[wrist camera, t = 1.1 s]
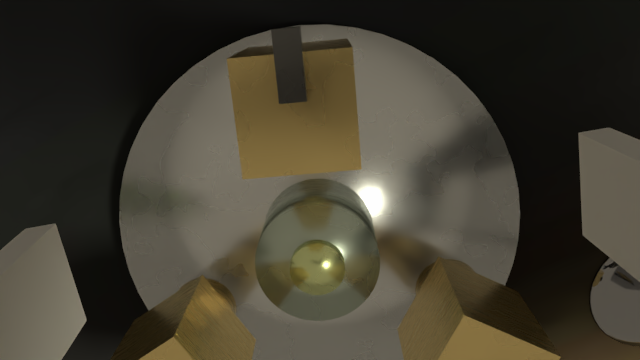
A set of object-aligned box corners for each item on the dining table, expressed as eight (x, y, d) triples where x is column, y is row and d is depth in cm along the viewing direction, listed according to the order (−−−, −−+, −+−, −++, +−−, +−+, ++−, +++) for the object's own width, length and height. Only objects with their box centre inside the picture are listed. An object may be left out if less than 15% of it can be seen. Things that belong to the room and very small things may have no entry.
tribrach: (513, 4, 31) (559, 4, 24) (513, 376, 37) (550, 449, 31) (91, 44, 31) (35, 53, 25) (160, 401, 37) (128, 477, 31)
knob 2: (352, 126, 31) (362, 175, 22) (264, 133, 31) (239, 185, 22) (344, 17, 29) (351, 22, 21) (252, 25, 30) (219, 34, 21)
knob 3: (392, 306, 34) (415, 413, 25) (430, 237, 33) (468, 325, 24) (477, 342, 34) (530, 460, 26) (517, 276, 33) (587, 376, 24)
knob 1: (211, 255, 33) (168, 347, 24) (261, 316, 34) (237, 425, 25) (135, 306, 34) (67, 412, 25) (186, 363, 35) (137, 486, 26)
